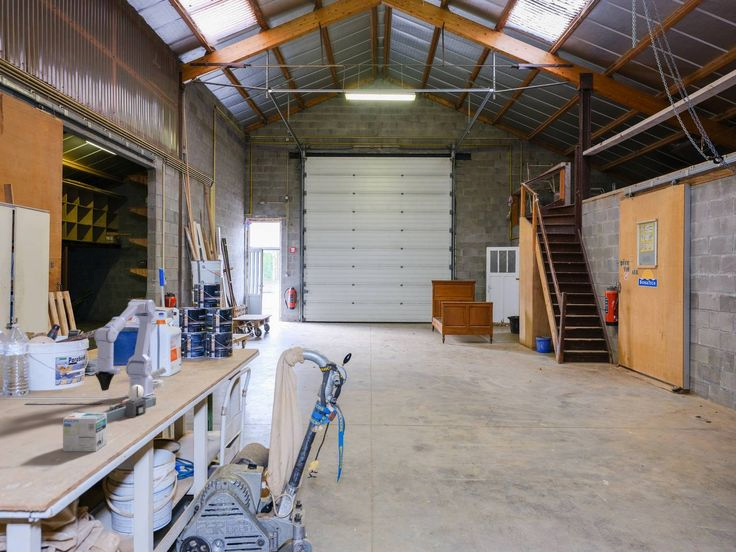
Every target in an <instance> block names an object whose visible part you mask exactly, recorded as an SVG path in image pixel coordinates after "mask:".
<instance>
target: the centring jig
mask: <svg viewBox="0 0 736 552" xmlns="http://www.w3.org/2000/svg"><path fill="white" fill-rule="evenodd" d="M143 392H144V390H143V387H142V386H141V385H133V386H132V387H131V388H130V387H129V390H128V394H127V395H128V397H127V398H128V399H130V400H131V401H128V402H126V407H122V408H119V409H116V410H113V411H110V412H107V422H110V421H113V420H116V419H119V418H122V417H128V418H137V413H136V406H138V407H143V412H142V413H139V414H142V415H144V414H146V411H147V410H146V409H147V408H151V407H153V405H154V406H156V405H157V397H152V396H143ZM141 398H143V399H141ZM75 412H76V413H90V411H89V412H87V411H82V410H76V411H74V412H73V413H75Z"/></svg>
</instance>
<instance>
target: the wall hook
mask: <svg viewBox="0 0 736 552" xmlns="http://www.w3.org/2000/svg"><path fill="white" fill-rule="evenodd" d="M165 373H167V370H166V368H165V366H162V367H160V368H158V369H156V370H154V371H153V372H152V371H151V373H150V374H149V375H150V376H151V377H152V378H153V388H157V389H159V388H158V387H161V388H163V387H164V380H162V379H156V378H158V377H159V376H162V375H163V374H165ZM162 386H163V387H162Z"/></svg>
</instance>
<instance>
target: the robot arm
mask: <svg viewBox="0 0 736 552" xmlns="http://www.w3.org/2000/svg"><path fill="white" fill-rule="evenodd" d="M156 306H157V305H156V303H155V301H154V300H153V299H134V298H133V299H131V300H130V301H129V302H128V303H127V306H126V308H125V310H123V312H122V313H121V314H120V315H119V316H114V317H112V318H111V320H109V322H108V323H106V324H104V325H105V326H103V327H99V328H98V329H97V330H96V331H95V333H94V335H93V340H94V341H95V346H97V349H96V350H97V352H96V353H97V354H96V355H97V356H96V357H97V359H96V360H97V363H96V365H92V366H90V368H89V371H90V372H95V377H96V378H97V381H98V382H99V385H100V388H101V391H102V392H103V391H104V392H105V391H109V388H110V385H111V382H112V379H113V378H114V376H116V375H120V374H121V372H122V371H121V368H118V367H115V366H114V345H115V344H114V342H115V341H116V340H117V339H118V335H119V333H120V332H121V331H122V330H124V328H126V325H127V323H126V322H128V321H130V319H132V318H133V317H134V316H135V318H137V319H138V321H139V324H138V325H139V326H138V331H137V338H136V343H135V349H134V354H133V355H132V356H131V357H129V358H128V361H127V364H126V366H125V374H126V375H127V376H128V378H129V389H130V388H131V387H132V386H133V385H141V386H142V387H143V390H144V392H143V396H147V397H149V396H152V395H154V394H155V392H154V389H153V380H154V379H153V378H152V377H151V376H150V375H149V374H150V373H152V371H153V367H152V366H153V365H152V362H153V360H152V358H151V357H149V356H148V352H149V347H150V346H149V344H150V340H151V339H150V338H151V332H152V326H153V320H154V318H155V315H156V308H157V307H156ZM96 372H97V373H96ZM124 397H125V398H129V397H128V394H127V395H125V396H124Z"/></svg>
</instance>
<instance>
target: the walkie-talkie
mask: <svg viewBox="0 0 736 552" xmlns="http://www.w3.org/2000/svg"><path fill="white" fill-rule="evenodd" d="M141 399H143V398H141ZM128 401H131V400H130V399H129V398H125V399H123V400H121V402H118V403H115V404H113V405H110V406H109V408H108V409H107V410H105V411H102V412H101V413H107V412H110V411H113V410H116V409H119V408H122V407H124V406H126V402H128Z"/></svg>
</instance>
